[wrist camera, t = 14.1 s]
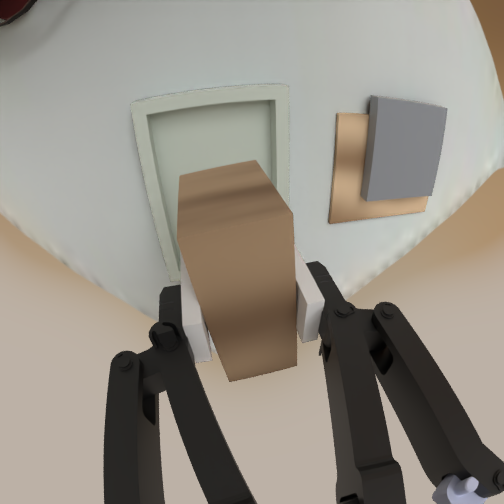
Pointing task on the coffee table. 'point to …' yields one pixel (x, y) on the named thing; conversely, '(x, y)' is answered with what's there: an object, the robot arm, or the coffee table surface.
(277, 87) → the tray
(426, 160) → the grey square tile
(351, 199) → the cork mat
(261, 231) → the block
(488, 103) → the coffee table surface
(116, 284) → the coffee table surface
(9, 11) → the binoculars
